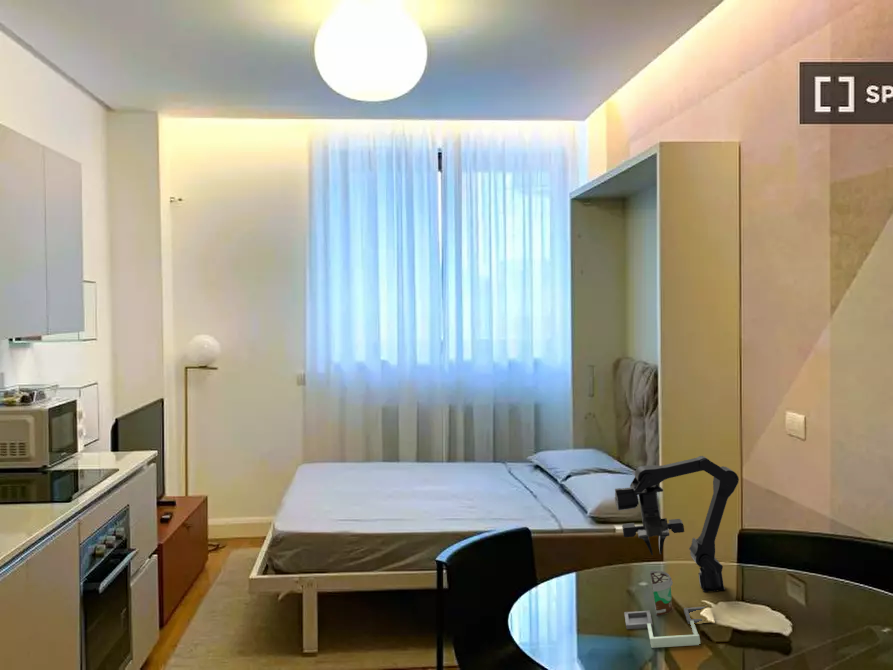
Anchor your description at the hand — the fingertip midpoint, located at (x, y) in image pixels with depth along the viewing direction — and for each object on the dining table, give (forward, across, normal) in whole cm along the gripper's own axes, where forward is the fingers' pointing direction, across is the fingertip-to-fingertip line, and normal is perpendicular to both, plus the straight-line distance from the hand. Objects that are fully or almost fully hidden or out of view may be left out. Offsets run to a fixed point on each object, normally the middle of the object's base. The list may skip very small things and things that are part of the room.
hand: (656, 554), depth 239 cm
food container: (+13, 0, -11) cm, 17 cm away
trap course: (+13, 0, -25) cm, 28 cm away
